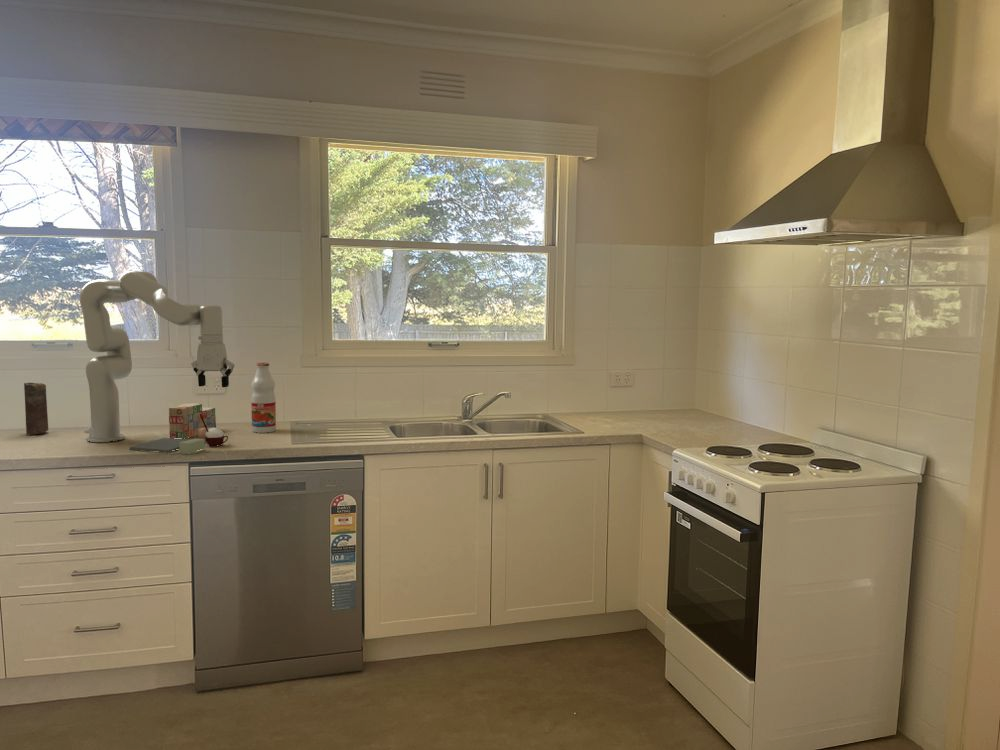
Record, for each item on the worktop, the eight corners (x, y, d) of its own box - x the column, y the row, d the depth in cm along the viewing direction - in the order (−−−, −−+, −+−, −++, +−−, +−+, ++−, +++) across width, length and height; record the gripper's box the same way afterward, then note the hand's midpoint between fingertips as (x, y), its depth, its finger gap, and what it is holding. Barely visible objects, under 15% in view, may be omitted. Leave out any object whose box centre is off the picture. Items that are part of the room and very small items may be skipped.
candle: (30, 432, 288) (27, 381, 286) (51, 431, 290) (48, 381, 288) (23, 435, 281) (20, 384, 278) (45, 435, 283) (42, 383, 280)
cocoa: (228, 445, 273) (229, 413, 272) (224, 447, 266) (225, 415, 266) (202, 444, 271) (203, 412, 271) (197, 446, 265) (198, 414, 264)
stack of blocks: (202, 429, 301) (201, 399, 300) (216, 430, 300) (215, 400, 298) (169, 439, 280) (168, 407, 279) (184, 439, 279) (183, 408, 278)
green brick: (179, 453, 256) (179, 442, 255) (195, 449, 263) (195, 438, 263) (188, 454, 254) (188, 443, 254) (204, 450, 262) (204, 439, 261)
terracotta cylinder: (195, 442, 275) (195, 428, 274) (204, 439, 280) (203, 426, 279) (207, 442, 274) (207, 429, 273) (215, 440, 279) (215, 427, 278)
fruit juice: (279, 429, 303) (278, 362, 300) (271, 433, 294) (270, 364, 291) (257, 428, 304) (255, 361, 301) (248, 432, 294) (246, 363, 291)
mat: (129, 449, 259) (129, 447, 259) (164, 440, 277) (164, 437, 277) (168, 452, 255) (168, 450, 255) (201, 443, 273) (201, 440, 273)
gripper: (184, 339, 263) (186, 386, 265) (226, 340, 259) (228, 388, 261) (197, 338, 271) (199, 384, 272) (239, 339, 266) (240, 386, 268)
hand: (213, 386), depth 267 cm, fingers open, 9 cm apart
